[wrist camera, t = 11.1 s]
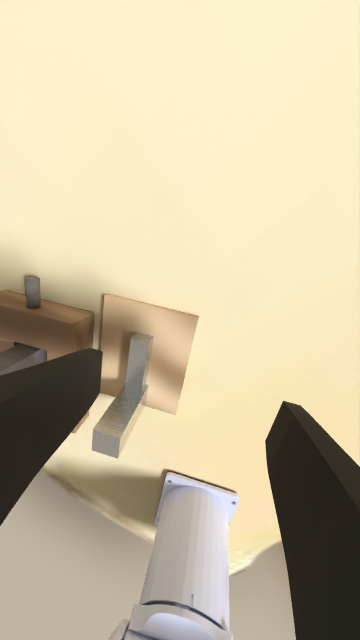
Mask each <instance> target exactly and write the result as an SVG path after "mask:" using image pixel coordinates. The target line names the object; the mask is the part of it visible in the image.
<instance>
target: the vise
mask: <svg viewBox="0 0 360 640" xmlns="http://www.w3.org/2000/svg"><path fill="white" fill-rule="evenodd" d="M25 292H26V295H23V294H19V293H15V292H11V291H2V292H0V376H1V375H4V374H7V373H11V372H14V371H17V370H21V369H24V368H27V367H31V366H34V365H37V364H40V363H43V362H46V361H49V360H52V359H55V358H58V357H61V356H64V355H67V354H70V353H73V352H76V351H79V350H82V349H86V348H92V343H93V324H94V313H93V312H90V311H86V310H82V309H78V308H74V307H70V306H66V305H62V304H58V303H54V302H50V301H46V300H42V299H40V278H38V277H25ZM88 416H89V410H88V412H87V413H86V415H85V416H84V417H83V418H82V420H81V421H80V422H79V423H78V425H77V426H76V427H75V428H74V429H73V431H72V433H76V431H77V430H78V429H79V428H80V426H81V425H82V424H83V422H84V421H85V420H86V419H87V417H88Z"/></svg>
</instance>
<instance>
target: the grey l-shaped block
mask: <svg viewBox="0 0 360 640" xmlns="http://www.w3.org/2000/svg"><path fill="white" fill-rule="evenodd" d="M153 339H154V336H151V335H147V334H143V333H139V332H137V333H136V334H135V335H134V336H133V337H132V338H131V341H130V349H129V357H128V366H127V374H126V382H125V385H124V386H123V388H122V389H121V391H120V392H119V393H118V395H117V396H116V398H115V399H114V400H113V402H112V403H111V405H110V406H109V408H108V409H107V410H106V412H105V413H104V415H103V416H102V417H101V419H100V420H99V422H98V423H97V425H96V426H95V427H94V429H93V439H92V450H93V451H96V452H99V453H102V454H105V455H108V456H112V457H115V458H118V457H119V455H120V453H121V451H122V449H123V447H124V445H125V443H126V441H127V439H128V437H129V435H130V433H131V431H132V429H133V427H134V425H135V423H136V421H137V419H138V417H139V415H140V413H141V411H142V409H143V407H144V405H145V403H146V398H147V392H148V386H149V385H146V382H147V376H148V370H149V364H150V357H151V351H152V345H153Z"/></svg>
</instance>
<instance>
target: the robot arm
mask: <svg viewBox="0 0 360 640" xmlns="http://www.w3.org/2000/svg"><path fill="white" fill-rule="evenodd" d="M102 358H103V351H99V350H96V349H92V348H86V349H82V350H79V351H76V352H73V353H70V354H67V355H64V356H61V357H58V358H55V359H52V360H49V361H46V362H43V363H40V364H37V365H34V366H31V367H27V368H24V369H21V370H17V371H14V372H11V373H7V374H4V375H1V376H0V526H1V524H2V523H3V521H4V520H5V518H6V517H7V515H8V513H9V512H10V511H11V509H12V508H13V506H14V505H15V504H16V502H17V501H18V499H19V498H20V497H21V495H22V494H23V492H24V491H25V489H26V488H27V487H28V485H29V484H30V482H31V481H32V480H33V478H34V477H35V476H36V474H37V473H38V472H39V471H40V469H41V468H42V467H43V466H44V464H45V463H46V462H47V461H48V459H49V458H50V457H51V456H52V455H53V453H54V452H55V451H56V450H57V449H58V447H59V446H60V445H61V444H62V443H63V441H64V440H65V439H66V438H67V437H68V435H69V434H70V433H71V432H72V431H73V429H74V428H75V427H76V426H77V425H78V423H79V422H80V421H81V420H82V418H83V417H84V416H85V415H86V413H87V412H88V410H89V409H90V407H91V406H92V404H93V403H94V401H95V399H96V398H97V396H98V395H99V393H100V386H101V372H102ZM265 443H266V457H267V468H268V474H269V479H270V484H271V489H272V494H273V499H274V504H275V509H276V514H277V519H278V523H279V528H280V533H281V538H282V543H283V547H284V552H285V558H286V564H287V570H288V576H289V585H290V592H291V601H292V608H293V616H294V623H295V634H296V640H360V467H359V466H358V465H357V464H356V463H355V461H354V460H353V459H352V458H351V457H350V456H349V455H348V454H347V453H346V452H345V451H344V450H343V449H342V448H341V447H340V446H339V445H338V444H337V443H336V442H335V441H334V440H333V439H332V438H331V436H330V435H329V434H328V433H327V432H326V431H325V430H324V429H323V428H322V427H321V426H320V425H319V424H318V423H317V422H316V421H315V420H314V419H313V417H312V416H311V415H310V414H309V413H308V412H307V411H306V410H305V409H303V408H302V407H301V406H300V405H296V404H293V403H289V402H285V401H283V403H282V405H281V407H280V409H279V412H278V414H277V416H276V418H275V421H274V423H273V425H272V427H271V430H270V432H269V434H268V436H267V439H266V441H265ZM239 501H240V498H239V495H238V494H236V493H234V492H231V491H227V490H224V489H221V488H218V487H215V486H212V485H209V484H206V483H203V482H200V481H197V480H194V479H191V478H188V477H185V476H182V475H179V474H176V473H172V472H168V473H167V474H166V478H165V482H164V486H163V490H162V494H161V499H160V503H159V507H158V511H157V515H156V519H155V523H154V524H155V526H156V527H157V531H156V535H155V539H154V544H153V548H152V552H151V556H150V561H149V565H148V569H147V574H146V578H145V582H144V586H143V590H142V594H141V599H140V603H139V604H134V607H133V611H132V615H131V619H130V621H128V620H126V619H124V620H123V621H121V623H120V624H119V626H118V627H117V628H116V629H115V630H114V631H113V632H112V634H111V636H110V638H109V640H233V634H232V633H230V632H229V554H228V526H229V523H230V521H231V519H232V517H233V514H234V512H235V510H236V508H237V505H238V503H239Z"/></svg>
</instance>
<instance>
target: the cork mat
mask: <svg viewBox="0 0 360 640" xmlns="http://www.w3.org/2000/svg"><path fill="white" fill-rule="evenodd" d="M198 317H199V316H196V315H192V314H188V313H184V312H180V311H176V310H172V309H168V308H163V307H159V306H155V305H151V304H147V303H143V302H139V301H135V300H130V299H126V298H122V297H118V296H114V295H110V294H106V295H104V305H103V320H102V335H101V350H100V351H103V358H102V372H101V386H100V393H103V394H107V395H110V396H114V397H116V396H117V395H118V393H119V392H120V391H121V389H122V388H123V386H124V385H125V382H126V374H127V366H128V357H129V349H130V341H131V338H132V337H133V336H134V335H135V334H136V333H137V332H139V333H143V334H147V335H151V336H154V339H153V345H152V351H151V357H150V364H149V370H148V376H147V382H146V385H149V386H148V392H147V398H146V403H145V405H144V406H147V407H151V408H154V409H157V410H161V411H164V412H167V413H171V414H174V415H176V411H177V407H178V403H179V399H180V394H181V390H182V386H183V381H184V377H185V373H186V369H187V364H188V360H189V356H190V351H191V347H192V343H193V339H194V334H195V330H196V326H197V321H198Z"/></svg>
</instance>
